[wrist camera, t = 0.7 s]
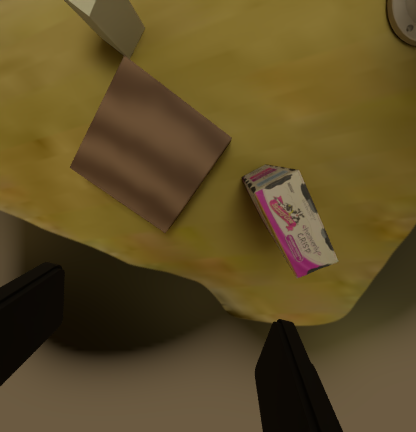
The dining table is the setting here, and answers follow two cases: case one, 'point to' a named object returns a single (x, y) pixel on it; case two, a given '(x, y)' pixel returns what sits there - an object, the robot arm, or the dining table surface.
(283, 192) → the candy bar box
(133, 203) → the walnut block
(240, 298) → the dining table surface
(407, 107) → the dining table surface
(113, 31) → the sage block
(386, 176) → the dining table surface
